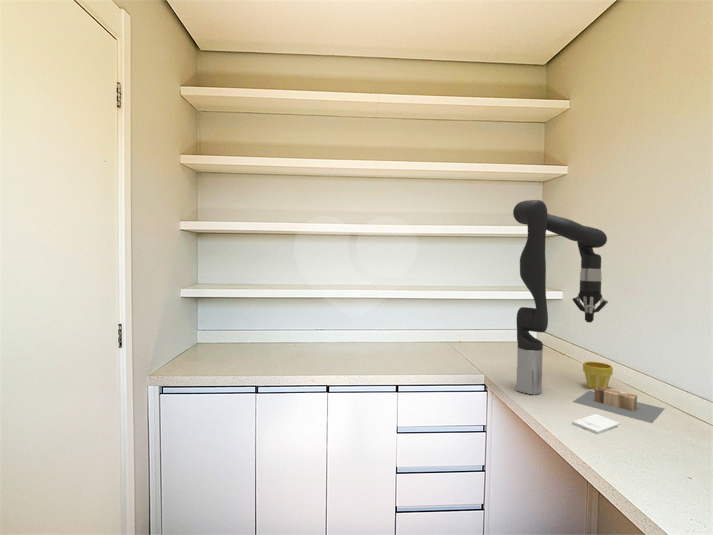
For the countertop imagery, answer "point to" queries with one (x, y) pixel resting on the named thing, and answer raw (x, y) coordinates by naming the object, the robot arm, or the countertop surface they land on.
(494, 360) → the countertop surface
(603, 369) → the plant pot
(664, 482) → the countertop surface
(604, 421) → the external hard drive
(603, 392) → the block
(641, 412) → the mat
